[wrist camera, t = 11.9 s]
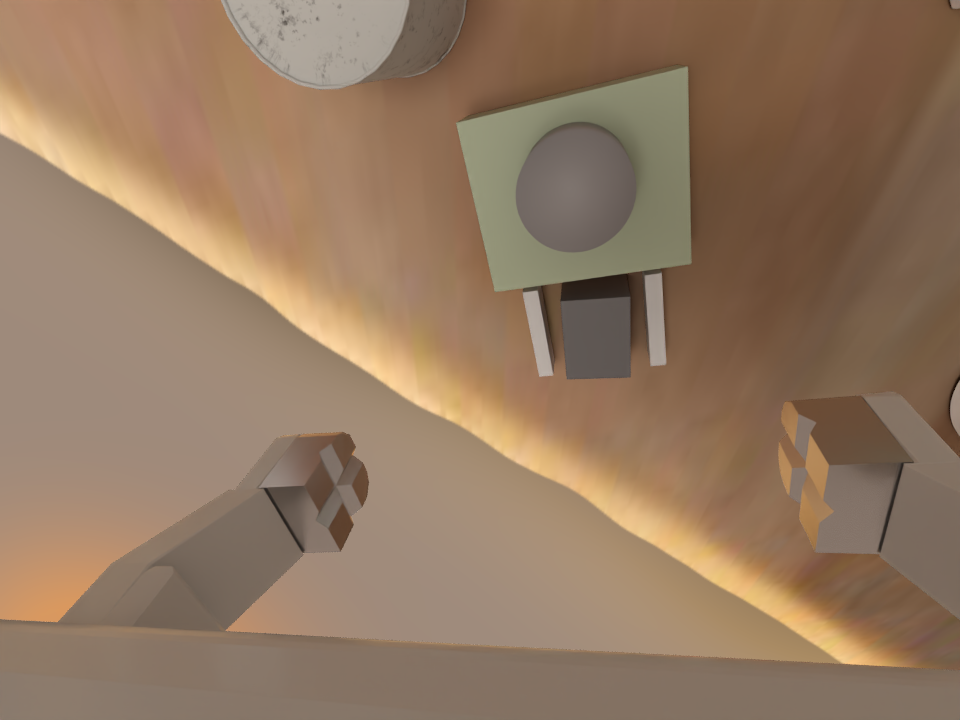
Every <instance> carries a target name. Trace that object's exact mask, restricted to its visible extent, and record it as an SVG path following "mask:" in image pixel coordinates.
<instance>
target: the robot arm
mask: <svg viewBox="0 0 960 720" xmlns="http://www.w3.org/2000/svg"><path fill="white" fill-rule="evenodd" d="M950 416H951V421H952V424H953V426H954V428H955V430H956V432H957V433H958V435H959V436H960V381H959V382H958V384H957V386H956V388H955V390H954V393H953V396H952V400H951V405H950ZM781 422H782V424H783V426H784V428H785V430H786V432H787V434H786V435H785V436H784V437H783V438H782V439H781V440H780V441H779V451H778V459H779V467H780V474H781V477H782V480H783V484H784V486H785V488H786V491H787V493H788V495H789V497H790V498H792V499H793V500H795V501H796V502H798V503H799V504H800V513H799V519H800V521H801V524H802V526H803V528H804V530H805V532H806V534H807V536H808V538H809V541H810V543H811V545H812V547H813V549H814V551H815V552H819V553H859V554H880V557H881V558H882V559H883V560H884V561H886V562H887V563H888V564H890V565H891V566H892V567H893V568H895V569H896V570H897V571H898V572H900V573H901V574H902V575H904V576H905V577H906V578H907V579H909V580H910V581H911V582H912V583H914V584H915V585H916V586H918V587H919V588H920V589H921V590H923V591H924V592H925V593H926V594H928V595H929V596H930V597H932V598H933V599H934V600H935V601H937V602H938V603H939V604H940V605H942V606H943V607H944V608H946V609H947V610H948V611H949V612H951V613H952V614H953V615H954V616H956V617H957V618H958V619H960V458H959V457H958V456H957V455H956V453H955V452H954V451H953V450H952V449H951V448H950V447H949V446H948V445H947V444H946V443H945V442H944V441H943V440H942V439H941V437H940V436H939V435H938V434H937V433H936V432H935V431H934V430H933V429H932V428H931V427H930V426H929V425H928V424H927V422H926V421H925V420H924V419H923V418H922V417H921V416H920V415H919V414H918V413H917V412H916V411H915V410H914V409H913V408H912V406H911V405H910V404H909V403H908V402H907V401H906V400H905V399H904V398H903V397H902V396H901V395H900V394H898V393H895V392H893V391H892V392H881V393H871V394H860V395H855V396H848V397H835V398H821V399H808V400H795V401H785V403H784V406H783V408H782V416H781ZM355 448H356V446H355V444H354V443H353V440H352V438H351V437H350V435H349V434H346V433H344V432H336V433H314V434H302V435H300V434H298V435H283V436H281V437H278V438H276V439H275V440H274V442H273V443H272V444H271V445H270V447H269V448H268V449H267V450H266V452H265V453H264V454H263V455H262V457H261V458H260V459H259V460H258V462H257V463H256V464H255V465H254V467H253V468H252V469H251V470H250V472H249V473H248V474H247V475H246V477H245V478H244V479H243V480H242V482H241V483H240V484H239V485H238V487H237V488H236V489H235V490H228V491H226V492H225V493H223V494H222V495H220V496H218V497H217V498H215V499H214V500H212V501H210V502H209V503H207V504H206V505H204V506H202V507H201V508H199V509H198V510H196V511H194V512H193V513H191V514H190V515H188V516H186V517H185V518H184V519H182V520H180V521H179V522H177V523H176V524H174V525H173V526H171V527H169V528H168V529H166V530H164V531H163V532H161V533H159V534H158V535H156V536H155V537H153V538H151V539H150V540H148V541H147V542H145V543H144V544H142V545H140V546H139V547H137V548H136V549H134V550H132V551H131V552H129V553H128V554H126V555H124V556H123V557H121V558H120V559H118V560H116V561H115V562H113V563H112V564H111V565H110V566H109V567H108V568H107V569H106V570H105V571H104V572H103V573H102V575H101V576H100V577H99V578H98V579H97V580H96V581H95V582H94V583H93V584H92V585H91V586H90V588H89V589H88V590H87V591H86V592H85V593H84V594H83V595H82V596H81V597H80V599H78V601H77V602H76V603H75V604H74V605H73V606H72V607H71V608H70V609H69V610H68V612H67V613H66V614H65V615H64V616H63V617H62V618H61V619H60V620H59V621H58V622H40V621H39V622H38V621H21V620H2V619H0V720H960V670H945V669H926V668H907V667H888V666H869V665H850V664H832V663H813V662H794V661H793V662H792V661H774V660H755V659H736V658H718V657H700V656H699V657H698V656H681V655H662V654H643V653H624V652H603V651H586V650H567V649H547V648H527V647H509V646H490V645H470V644H451V643H432V642H431V643H430V642H413V641H393V640H377V639H359V638H341V637H322V636H302V635H286V634H266V633H248V632H229V631H228V632H227V631H225V630H226V629H227V628H228V627H229V626H230V625H231V624H232V623H233V622H235V620H237V619H238V618H239V617H240V616H241V615H242V614H243V613H244V612H245V611H246V610H247V609H248V608H249V607H250V606H251V605H252V604H253V603H254V602H255V601H256V600H257V599H258V598H259V597H260V596H262V595H263V594H264V593H265V592H266V591H267V590H268V589H269V588H270V587H271V586H272V585H273V584H274V583H275V582H276V581H277V580H278V579H279V578H280V577H281V576H282V575H283V574H284V573H285V572H286V571H287V570H288V569H289V568H291V567H292V566H293V565H294V564H295V563H296V562H297V561H298V560H299V559H300V558H301V557H302V556H303V553H315V552H340V551H341V550H342V548H343V546H344V543H345V541H346V540H347V538H348V535H349V533H350V531H351V529H352V527H353V525H354V524H353V521H352V518H351V516H352V515H353V514H354V513H356V512H357V511H358V510H359V509H361V508H362V506H363V504H364V502H365V500H366V497H367V493H368V485H369V481H368V475H367V471H366V468H365V466H364V464H363V462H361V461H360V460H359V459H357V458H356V457H355V456H353V454H354V451H355Z"/></svg>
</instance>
